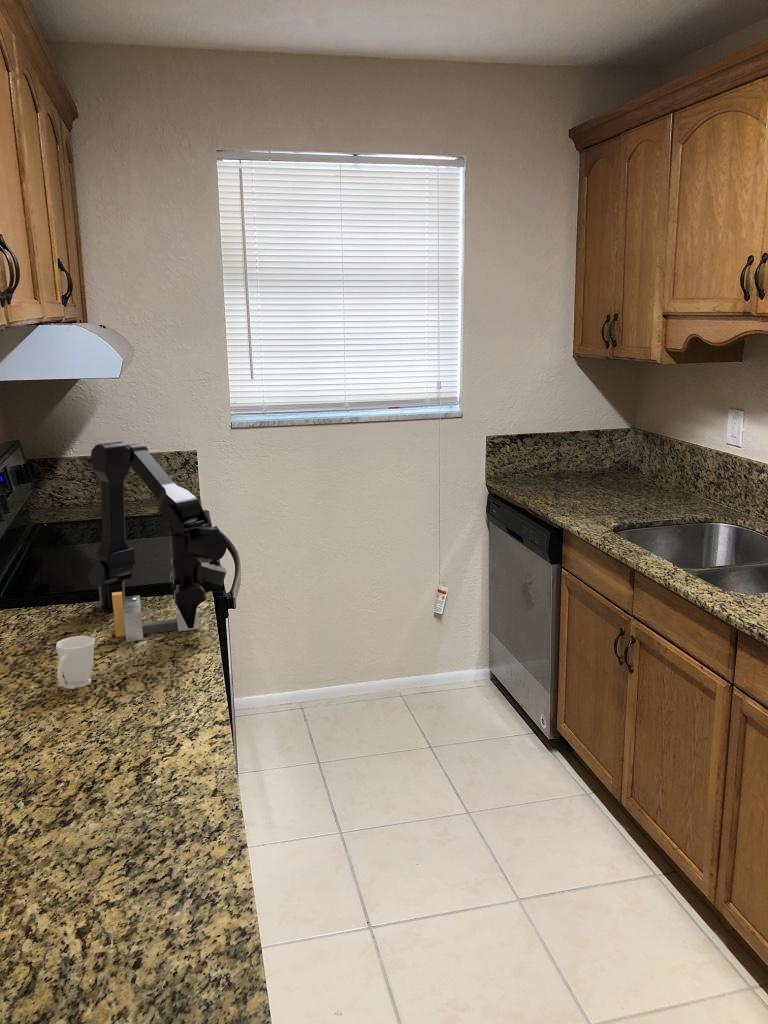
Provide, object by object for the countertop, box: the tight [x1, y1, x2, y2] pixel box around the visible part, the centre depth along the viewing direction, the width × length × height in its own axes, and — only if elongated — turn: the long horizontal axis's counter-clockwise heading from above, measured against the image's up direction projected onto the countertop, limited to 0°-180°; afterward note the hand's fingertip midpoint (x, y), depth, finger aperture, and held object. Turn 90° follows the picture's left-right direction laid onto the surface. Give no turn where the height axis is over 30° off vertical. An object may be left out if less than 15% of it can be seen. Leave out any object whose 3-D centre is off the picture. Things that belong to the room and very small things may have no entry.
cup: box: [55, 635, 96, 690], centre depth 151 cm, size 7×10×8 cm
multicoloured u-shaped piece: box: [112, 592, 200, 638], centre depth 179 cm, size 18×4×9 cm, turn 107°
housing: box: [123, 595, 144, 643], centre depth 179 cm, size 4×12×6 cm, turn 17°
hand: (189, 622), depth 182 cm, fingers open, 7 cm apart
